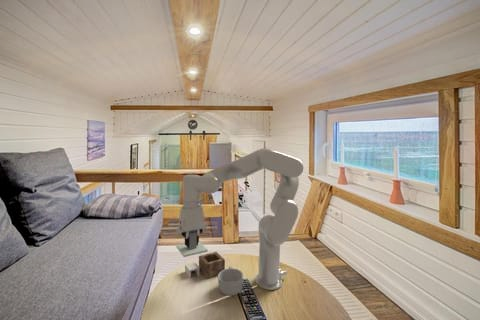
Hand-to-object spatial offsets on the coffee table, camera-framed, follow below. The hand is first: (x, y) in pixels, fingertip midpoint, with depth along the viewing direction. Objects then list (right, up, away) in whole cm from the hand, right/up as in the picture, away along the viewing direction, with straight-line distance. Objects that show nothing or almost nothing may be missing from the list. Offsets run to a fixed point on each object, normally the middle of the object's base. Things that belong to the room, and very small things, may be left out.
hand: (191, 244), depth 107 cm
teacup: (+17, -21, +3) cm, 27 cm away
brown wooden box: (+7, -19, +16) cm, 26 cm away
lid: (0, -2, 0) cm, 2 cm away
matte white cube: (-3, -20, +13) cm, 24 cm away
